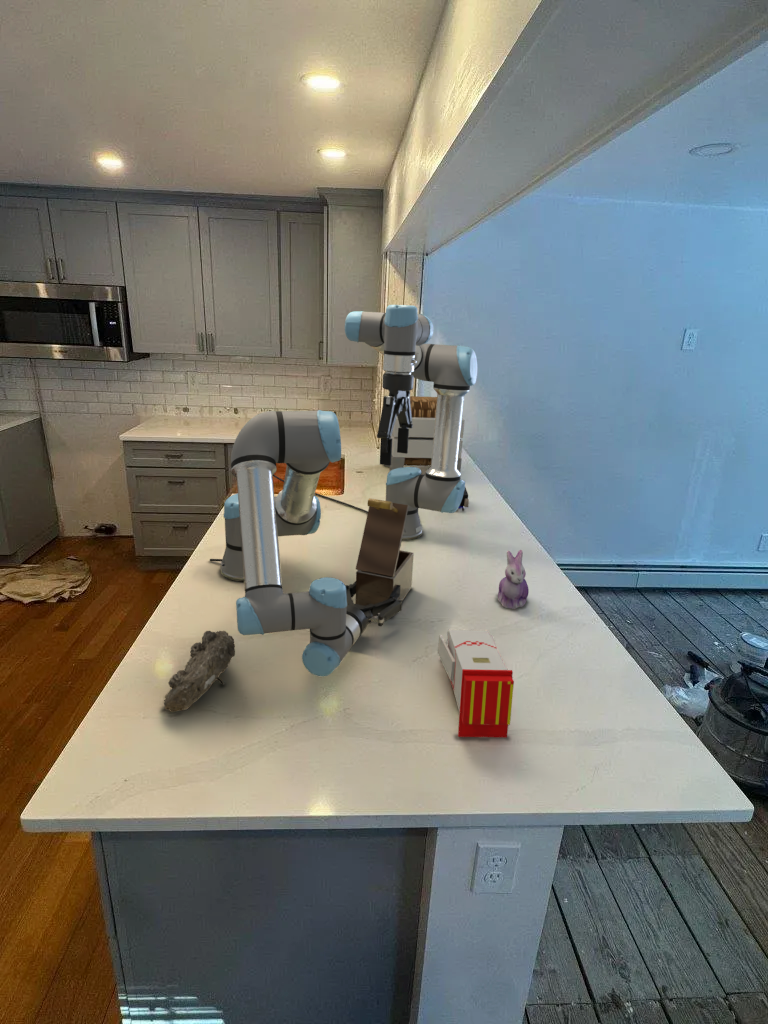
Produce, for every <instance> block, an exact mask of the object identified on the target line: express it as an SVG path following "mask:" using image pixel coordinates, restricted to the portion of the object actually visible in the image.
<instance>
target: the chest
mask: <svg viewBox="0 0 768 1024" xmlns="http://www.w3.org/2000/svg"><path fill="white" fill-rule="evenodd" d="M414 555H415V553H414V552H411V551H406V550H401V549H400V551H399V556H398V561H397V566H396V571H395V575H394V577H391V576H386V575H381V574H376V573H371V572H366V571H361V570H357V571H356V572H355V581H356V594H355V599H354V600H355V602H354V604H359V605H364V606H366V605H369V604H373V605H374V604H376V603H379V602H382V601H384V600H387V599H389V597H390V595H391V593H392V592H393V591H394V589H395V588H396V587H397V585H401V586H400V600H401V601H402V602H404V600H405V598H406V596H408V594H409V592H410V591H411V589H412V583H413V569H414Z"/></svg>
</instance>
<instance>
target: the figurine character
mask: <svg viewBox="0 0 768 1024" xmlns="http://www.w3.org/2000/svg"><path fill="white" fill-rule="evenodd" d="M469 505H470V500H469V492H468V490H467V488H466V486H465V490H464V494H463V498H462V501H461V503H460V506H459V507H458V509H461V511H462V512H464V511H465V508H469ZM458 509H457V510H456V511H455V512H457V511H458Z"/></svg>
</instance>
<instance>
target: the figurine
mask: <svg viewBox="0 0 768 1024" xmlns="http://www.w3.org/2000/svg"><path fill="white" fill-rule="evenodd" d="M523 552H524V551H523V550H522V549H520V550H518V551H517V553H516V554H515V556H514V555H513V553H512V552H511V551H510V550H507V551H506V561H507V565H506V568H505V570H504V575H505V576H504V577H503V578H501V580H500V581H499V584H498V593H497V601H498V602H499V603H500V604H501V606H502V607H503V608H506V609H507V608H508V609H511V610H512V609H514V610H516V609H518V608H522V607H524V606H525V605H526V602H527V601H528V600H527V599H528V596H529V592H530V591H529V590H530V589H529V585H528V582H527V580H526V575H527V574H526V573H527V571H526V570H525V566H524V565H523V555H524V554H523Z"/></svg>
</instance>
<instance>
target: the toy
mask: <svg viewBox="0 0 768 1024" xmlns="http://www.w3.org/2000/svg"><path fill="white" fill-rule="evenodd" d="M446 640H447V643H446V641H445V639H444V636H443V635H442V634H439V637H438V646H437V656H438V657H439V659H440V661H441V663H442V666H443V668H444V670H445V672H446V674H447V677H448V679H449V681H450V684H451V687H452V690H453V693H454V697H455V701H456V705H457V708H458V711H459V714H458V715H459V716H458V730H457V731H458V732H457V737H458V738H508V731H509V726H510V725H511V717H512V707H513V697H514V696H513V695H514V684H515V680H514V679H513V673H514V671H513V670H512V669H508V667H507V665H506V662H505V661H504V659H503V658H502V655H501V653H500V651H499V649H498V647H497V643H496V639H495V637H494V635H493V634H491V632H490V631H489V629H467V628H466V629H465V628H463V629H461V628H460V629H459V628H448V630H447V639H446Z"/></svg>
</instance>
